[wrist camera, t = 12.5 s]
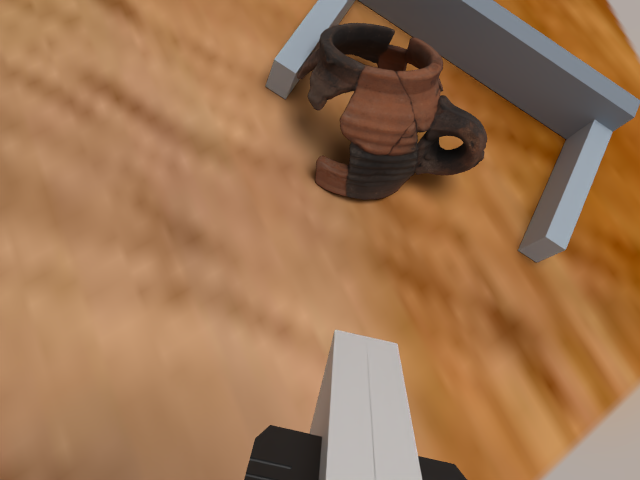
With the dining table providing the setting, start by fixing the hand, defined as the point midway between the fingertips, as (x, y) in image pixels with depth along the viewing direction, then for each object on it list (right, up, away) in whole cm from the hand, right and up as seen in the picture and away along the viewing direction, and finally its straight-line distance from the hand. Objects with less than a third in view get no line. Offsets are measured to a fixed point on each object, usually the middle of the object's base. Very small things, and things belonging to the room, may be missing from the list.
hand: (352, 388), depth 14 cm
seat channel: (+7, +12, +27) cm, 30 cm away
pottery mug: (+3, +10, +25) cm, 27 cm away
